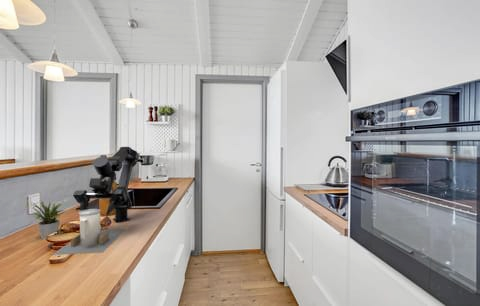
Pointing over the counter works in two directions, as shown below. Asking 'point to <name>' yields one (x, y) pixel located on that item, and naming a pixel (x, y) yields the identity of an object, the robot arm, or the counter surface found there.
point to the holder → (104, 242)
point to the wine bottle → (106, 203)
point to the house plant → (48, 219)
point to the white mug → (89, 227)
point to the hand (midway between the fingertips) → (94, 214)
